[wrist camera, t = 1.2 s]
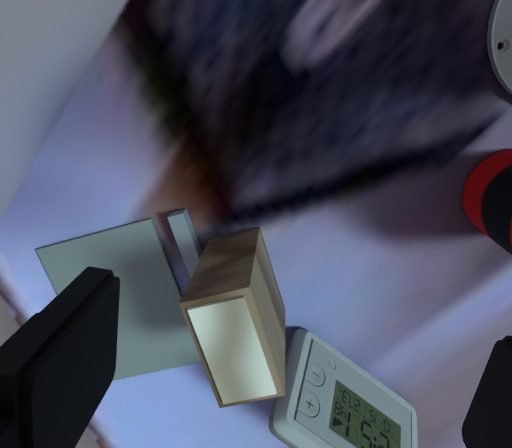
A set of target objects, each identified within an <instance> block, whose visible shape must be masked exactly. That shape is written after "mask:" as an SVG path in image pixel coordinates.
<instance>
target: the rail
mask: <svg viewBox="0 0 512 448" xmlns="http://www.w3.org/2000/svg"><path fill="white" fill-rule="evenodd" d="M167 218H168V221H169V224H170V226H171V229H172V232H173V234H174V237H175V240H176V242H177V245H178V248H179V250H180V253H181V256H182V258H183V261H184V264H185V266H186V269H187V272H188V274H189V277H190V279H191V277H192V275H193V273H194V270H195V268H196V266H197V264H198V262H199V260H200V258H201V256H202V250H201V247H200V245H199V242H198V239H197V236H196V233H195V231H194V228H193V225H192V222H191V219H190V217H189V214H188V211H187V208H186V209H182V210H179V211H175V212H171V214H170V215H169V216H168V217H167Z"/></svg>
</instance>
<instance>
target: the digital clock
mask: <svg viewBox="0 0 512 448" xmlns="http://www.w3.org/2000/svg"><path fill="white" fill-rule="evenodd" d="M269 429H270V431H271V433H272V434H273V435H274V436H275V437H276V438H278V439H279V440H280V441H282V442H283V443H285V444H286V445H288V446H289V447H290V448H417V416H416V412H415V409H414V408H413V407H412V406H411V405H410V404H409V403H408V402H406V401H405V400H404V399H402V398H401V397H400V396H399V395H397V394H396V393H395V392H393V391H392V390H390V389H389V388H388V387H386V386H385V385H384V384H382V383H381V382H380V381H378V380H377V379H376V378H374V377H373V376H372V375H370V374H369V373H368V372H366V371H365V370H363V369H362V368H361V367H359V366H358V365H357V364H355V363H354V362H353V361H351V360H350V359H349V358H347V357H346V356H345V355H343V354H342V353H341V352H339V351H338V350H337V349H335V348H334V347H332V346H331V345H330V344H328V343H327V342H326V341H324V340H323V339H321V338H320V337H319V336H317V335H316V334H314V333H313V332H310V331H307V330H304V329H298V330H296V331H295V332H294V334H293V336H292V338H291V341H290V344H289V348H288V351H287V355H286V359H285V396H280V397H275V399H274V402H273V406H272V410H271V414H270V419H269Z"/></svg>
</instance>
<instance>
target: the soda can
mask: <svg viewBox="0 0 512 448" xmlns="http://www.w3.org/2000/svg"><path fill="white" fill-rule="evenodd" d="M463 207H464V210H465V213H466V215H467V217H468V218H469V220H470V221H471V222H472V223H473V224H474V225H475V226H476V227H477V228H478V229H480V230H481V231H482V232H483V233H485V234H486V235H487V236H488V237H490V238H491V239H492V240H493V241H495V242H496V243H497V244H499V245H500V246H501V247H502V248H504V249H505V250H506V251H507V252H509V253H510V254H511V255H512V149H510V150H506V151H501V152H499V153H496V154H494V155H491V156H490V157H488V158H487V159H485V160H484V161H482V162H481V163H480V164H479V165H478V166H477V167H476V168H475V169H474V170H473V172H472V173H471V174H470V176H469V178H468V180H467V182H466V184H465V187H464V191H463Z"/></svg>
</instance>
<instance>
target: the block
mask: <svg viewBox="0 0 512 448" xmlns="http://www.w3.org/2000/svg"><path fill="white" fill-rule="evenodd" d="M179 305H180V308H181V310H182V313H183V315H184V318H185V320H186V323H187V326H188V328H189V331H190V333H191V336H192V338H193V341H194V344H195V346H196V349H197V351H198V354H199V356H200V359H201V361H202V364H203V367H204V369H205V372H206V374H207V377H208V379H209V382H210V385H211V387H212V390H213V392H214V395H215V397H216V400H217V402H218V405H219V408H222V407H228V406H233V405H238V404H243V403H248V402H254V401H259V400H264V399H269V398H274V397H280V396H285V307H284V304H283V301H282V298H281V294H280V291H279V288H278V285H277V281H276V278H275V275H274V272H273V268H272V265H271V262H270V258H269V255H268V252H267V249H266V245H265V242H264V239H263V236H262V232H261V229H260V227H257V228H253V229H249V230H245V231H241V232H237V233H234V234H230V235H226V236H222V237H218V238H214V239H210V240H209V241H208V243H207V245H206V247H205V249H204V251H203V253H202V256H201V258H200V260H199V262H198V264H197V266H196V268H195V270H194V273H193V275H192V277H191V279H190V281H189V283H188V285H187V287H186V290H185V292H184V294H183V296H182V298H181V300H180V302H179Z"/></svg>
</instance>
